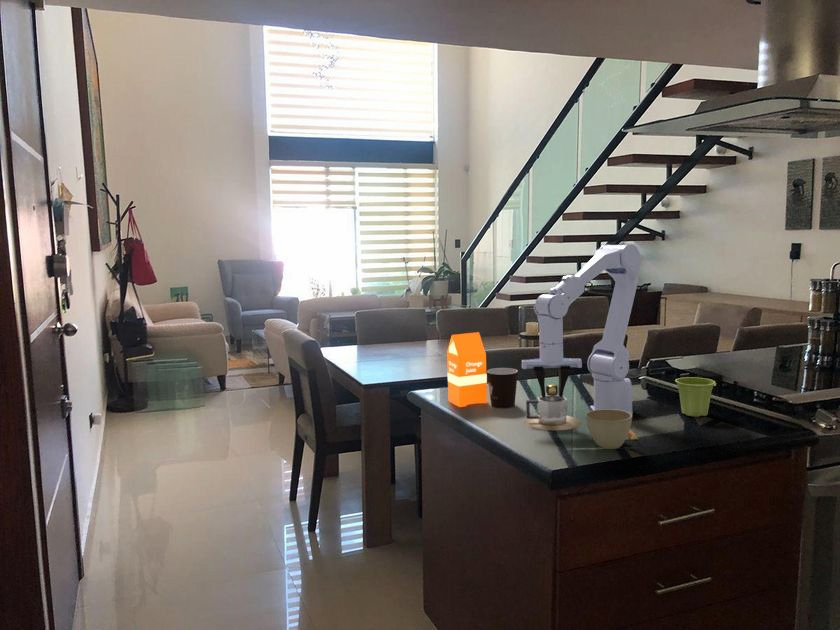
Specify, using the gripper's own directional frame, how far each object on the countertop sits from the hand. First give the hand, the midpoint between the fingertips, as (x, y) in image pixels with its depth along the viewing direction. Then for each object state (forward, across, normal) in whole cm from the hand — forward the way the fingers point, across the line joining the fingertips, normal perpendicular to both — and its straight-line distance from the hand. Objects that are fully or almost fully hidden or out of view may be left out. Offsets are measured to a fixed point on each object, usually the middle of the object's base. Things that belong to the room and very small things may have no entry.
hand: (551, 396), depth 164 cm
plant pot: (+7, +37, +6) cm, 38 cm away
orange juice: (+7, -21, +23) cm, 32 cm away
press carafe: (+7, -1, 0) cm, 7 cm away
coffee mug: (+7, -11, +19) cm, 23 cm away
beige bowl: (+7, +10, -18) cm, 22 cm away
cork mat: (+7, 0, 0) cm, 7 cm away
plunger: (+4, 0, 0) cm, 4 cm away
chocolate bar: (+8, +16, -9) cm, 20 cm away
